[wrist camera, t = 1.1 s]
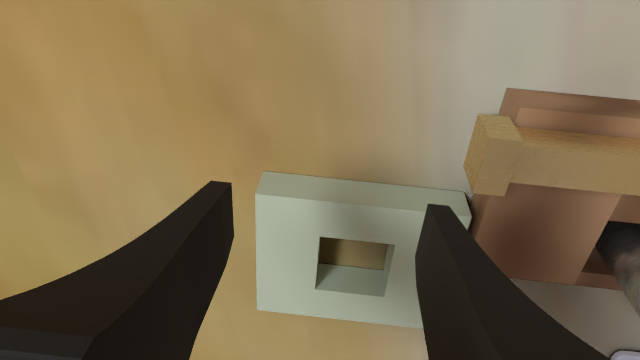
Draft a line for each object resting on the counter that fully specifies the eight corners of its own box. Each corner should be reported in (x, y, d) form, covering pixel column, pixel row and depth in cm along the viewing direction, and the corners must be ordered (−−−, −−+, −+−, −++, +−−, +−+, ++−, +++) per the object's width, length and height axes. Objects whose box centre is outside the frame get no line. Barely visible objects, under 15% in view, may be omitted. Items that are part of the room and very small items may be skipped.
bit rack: (463, 191, 22) (471, 216, 21) (431, 302, 27) (435, 330, 25) (263, 171, 23) (255, 193, 21) (263, 283, 27) (257, 309, 26)
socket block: (747, 111, 19) (784, 132, 17) (647, 266, 24) (668, 295, 22) (506, 87, 19) (519, 107, 18) (457, 246, 24) (464, 273, 23)
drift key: (664, 131, 17) (695, 158, 16) (636, 183, 19) (662, 212, 17) (478, 113, 18) (489, 137, 16) (463, 165, 19) (472, 193, 17)
